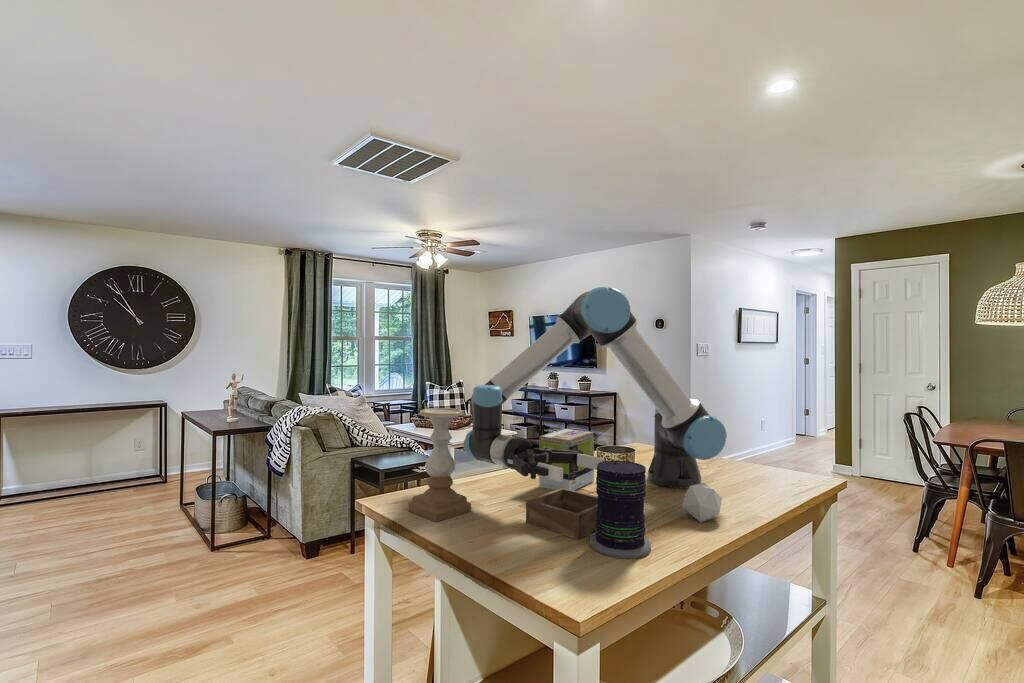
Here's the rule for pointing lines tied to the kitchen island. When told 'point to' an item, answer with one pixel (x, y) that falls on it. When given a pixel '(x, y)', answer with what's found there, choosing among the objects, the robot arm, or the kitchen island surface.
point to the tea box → (571, 472)
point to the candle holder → (440, 472)
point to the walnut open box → (563, 512)
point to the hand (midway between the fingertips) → (582, 469)
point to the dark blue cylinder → (620, 505)
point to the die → (702, 502)
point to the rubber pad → (620, 553)
